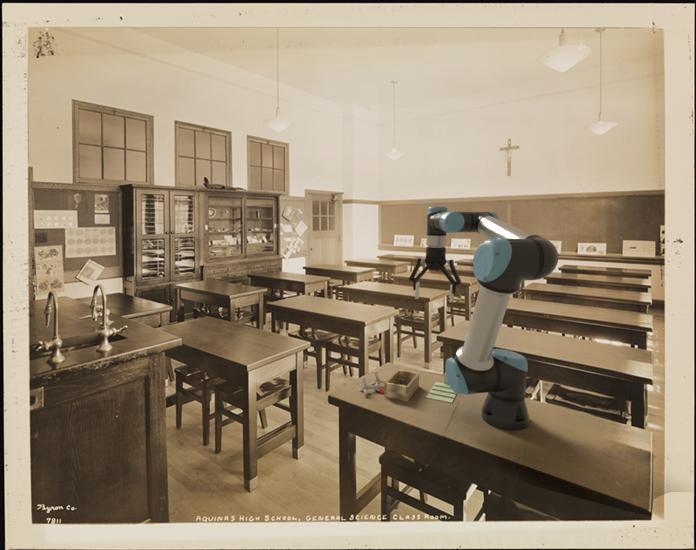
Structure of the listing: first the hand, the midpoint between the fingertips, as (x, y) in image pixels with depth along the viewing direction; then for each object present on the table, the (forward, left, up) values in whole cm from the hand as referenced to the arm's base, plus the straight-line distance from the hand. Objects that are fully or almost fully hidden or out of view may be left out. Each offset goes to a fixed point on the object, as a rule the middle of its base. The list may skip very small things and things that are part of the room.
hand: (433, 300), depth 162 cm
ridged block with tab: (-7, +5, -35) cm, 36 cm away
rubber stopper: (+8, +10, -34) cm, 37 cm away
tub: (+7, +14, -35) cm, 38 cm away
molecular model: (+18, +18, -35) cm, 43 cm away
